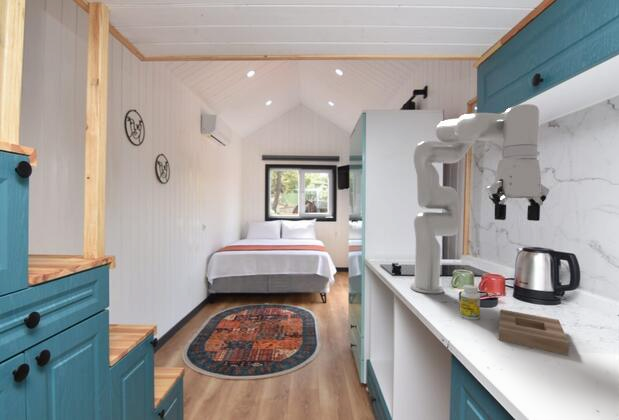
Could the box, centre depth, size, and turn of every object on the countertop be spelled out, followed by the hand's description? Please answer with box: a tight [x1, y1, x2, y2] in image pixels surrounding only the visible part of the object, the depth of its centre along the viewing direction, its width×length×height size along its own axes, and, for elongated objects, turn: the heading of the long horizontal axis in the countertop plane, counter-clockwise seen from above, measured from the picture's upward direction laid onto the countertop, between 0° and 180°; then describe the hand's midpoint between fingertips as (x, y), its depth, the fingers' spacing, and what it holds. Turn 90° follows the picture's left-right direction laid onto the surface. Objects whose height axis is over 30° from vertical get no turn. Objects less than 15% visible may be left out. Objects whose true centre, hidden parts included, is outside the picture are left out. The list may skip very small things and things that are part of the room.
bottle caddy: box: [498, 309, 570, 356], centre depth 83 cm, size 18×14×3 cm
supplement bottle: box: [459, 284, 481, 321], centre depth 96 cm, size 5×5×10 cm
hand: (516, 220), depth 81 cm, fingers open, 9 cm apart
